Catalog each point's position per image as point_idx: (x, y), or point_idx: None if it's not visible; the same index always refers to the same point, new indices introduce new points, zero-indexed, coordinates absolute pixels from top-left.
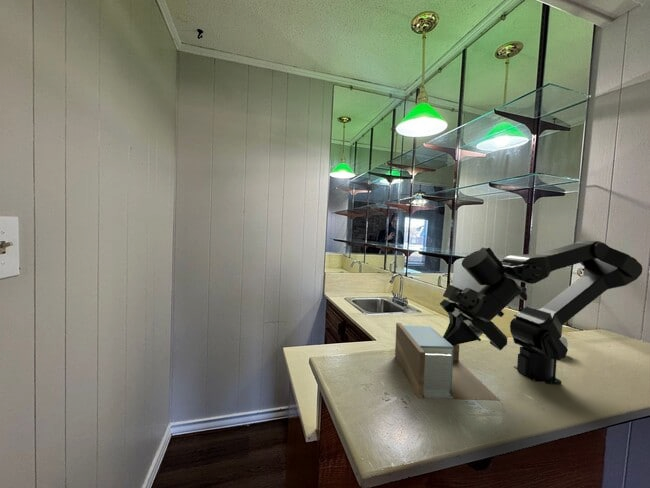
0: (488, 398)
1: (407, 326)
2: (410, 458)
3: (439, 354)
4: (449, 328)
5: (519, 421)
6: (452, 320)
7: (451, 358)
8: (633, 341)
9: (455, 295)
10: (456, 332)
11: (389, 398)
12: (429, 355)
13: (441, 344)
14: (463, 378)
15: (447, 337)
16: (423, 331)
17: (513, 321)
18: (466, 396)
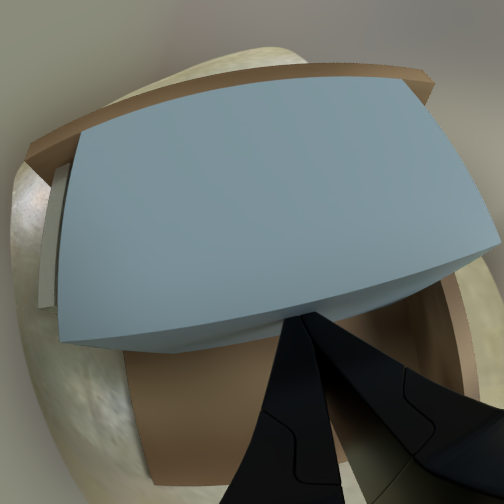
0: (150, 456)
1: (400, 93)
2: (13, 213)
3: (46, 239)
4: (399, 407)
5: (94, 475)
6: (483, 471)
7: (48, 311)
8: None
9: None
10: (238, 473)
11: None
12: (51, 192)
13: (85, 255)
14: None
15: (285, 366)
16: (359, 159)
17: None
18: (142, 390)
